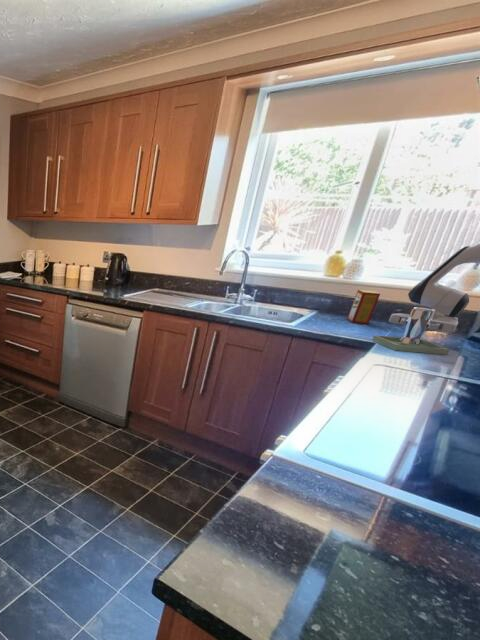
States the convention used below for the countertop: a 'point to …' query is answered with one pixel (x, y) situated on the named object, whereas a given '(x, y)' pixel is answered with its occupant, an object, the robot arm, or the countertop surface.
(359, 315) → the baking soda box
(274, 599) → the countertop surface
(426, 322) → the beer glass
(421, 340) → the tray
